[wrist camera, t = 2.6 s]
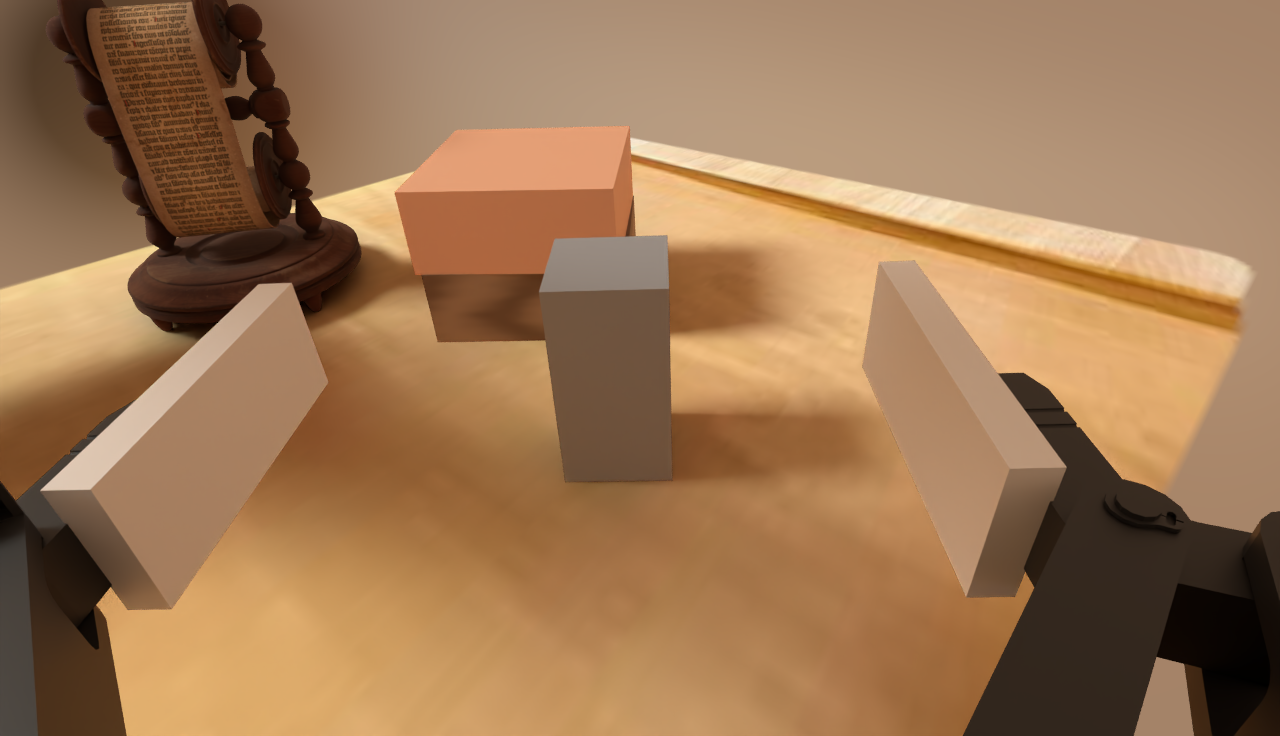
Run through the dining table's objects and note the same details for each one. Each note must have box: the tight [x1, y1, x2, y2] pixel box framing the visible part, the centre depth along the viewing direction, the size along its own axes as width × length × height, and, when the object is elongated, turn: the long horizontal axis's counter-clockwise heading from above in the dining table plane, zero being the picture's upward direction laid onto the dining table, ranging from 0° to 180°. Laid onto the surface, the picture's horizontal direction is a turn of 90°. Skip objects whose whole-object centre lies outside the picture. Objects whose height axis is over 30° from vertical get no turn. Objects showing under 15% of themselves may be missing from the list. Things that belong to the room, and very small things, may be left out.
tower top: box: [395, 126, 633, 275], centre depth 43 cm, size 12×12×5 cm
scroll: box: [46, 0, 361, 331], centre depth 44 cm, size 15×15×20 cm
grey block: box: [539, 235, 672, 482], centre depth 31 cm, size 5×5×10 cm
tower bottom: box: [422, 196, 636, 342], centre depth 46 cm, size 12×12×5 cm
